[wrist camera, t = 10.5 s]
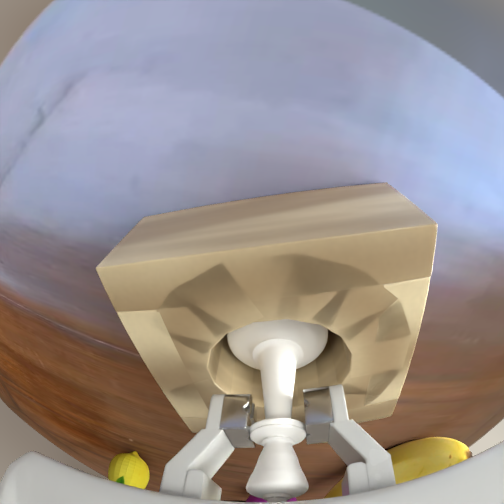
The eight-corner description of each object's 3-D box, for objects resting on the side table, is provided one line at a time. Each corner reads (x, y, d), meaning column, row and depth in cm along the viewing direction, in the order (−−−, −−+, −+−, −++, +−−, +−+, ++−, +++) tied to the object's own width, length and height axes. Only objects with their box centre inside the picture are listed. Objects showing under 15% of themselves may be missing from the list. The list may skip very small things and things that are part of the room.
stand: (143, 217, 14) (94, 268, 10) (386, 182, 12) (438, 223, 8) (204, 373, 20) (191, 432, 15) (374, 356, 18) (391, 416, 14)
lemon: (139, 461, 32) (125, 515, 24) (107, 443, 30) (88, 499, 22) (166, 459, 30) (152, 521, 21) (131, 441, 28) (111, 506, 19)
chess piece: (263, 272, 12) (248, 534, 4) (347, 319, 13) (392, 525, 5) (209, 339, 14) (169, 532, 6) (287, 373, 16) (288, 545, 7)
